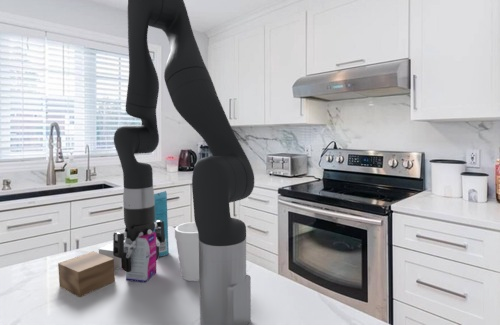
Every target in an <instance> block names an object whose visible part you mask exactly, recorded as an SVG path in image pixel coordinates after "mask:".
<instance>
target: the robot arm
mask: <svg viewBox="0 0 500 325" xmlns="http://www.w3.org/2000/svg"><path fill="white" fill-rule="evenodd" d="M126 7H127V8H126V9H127V11H126V12H127V16H126V17H127V46H128V48H127V49H128V81H127V88H126V89H127V91H126V99H125V113H126V114H127V115H128V116H130V117H132V118H135V119H138V120H139V119H140V122H141V125H121V126H119V127H117V129H116V130H115V132H114V135H113V144H114V147H115V150H116V153H117V156H118V158H119V162H120V165H121V166H120V167H121V169H122V175H123V177H122V178H123V195H122V199H123V200H122V201H123V203H122V204H123V221H124V222H123V223H124V225H125V228H124V229H125V230H124V231H121V232H118V231H115V232H113V235H112V236H113V237H112V238H113V239H112V240H113V241H112V243H113V255H114V256H116V257H119V258H121V263H122V269H121V270H123V271H124V272H125V273H126V272H130V271H131V257H130V255H131V253H132V251H133V250H135V248H136V246H137V239H138V238H141V237H142V236H143V235H146V234H148V235H150V234H152V233H153V231H154V229H155V232H156V261H158V260H159V258H160V257H159V246H160V243H162V242H165V230H164V222H163V221H160V220H155V200H154V194H155V192H154V180H153V178H154V176H153V174H154V172H153V167H152V165H151V164H149V163H148V162H147V163H146V162H139V161H138V160H137V158H136V156H135V155H137V154H138V155H139V154H140V155H141V154H151V153H153V152H155V151H156V149H157V147H158V146H159V144H160V143H159V142H160V136H159V135H160V134H159V129H158V128H159V127H158V120H157V105H158V100H159V98H158V97H159V93H160V92H159V91H160V82H159V81H160V80H159V76H158V72H157V71H156V67H155V65H154V62H153V59H152V57H151V52H150V49H149V43H148V31H149V27H150V28H151V27H152V28H156V29H159V30H162V31H163V32H164V33H165V36H166V37H167V40H168V42H169V46H170V52H169V55H168V57H167V61H166V64H165V67H164V72H163V74H164V76H163V77H164V82H165V85H166V89H167V91H168V94H169V97H170V99H171V102H172V104H173V106H174V108H175V110H176V111H177V113H178V114H179V115H180V116H181V117H182V119H183V120H184V121H185V122H186V123H188V124H189V126H190V127H191V128H193V129H194V130H195V131H196V132H197V133H198V134H199V136H200V137H201V138H202V139H203V140H204V142H205V144H206V145H207V147H208V149H209V151H210V154H211V155H212V156H206V157H202V158H201V159H199V160H198V161H197V162H196V163H195V165H194V168H193V170H192V171H193V172H192V176H191V178H192V179H191V188H192V201H193V216H194V222H195V224H196V227H197V230H198V236H199V280H198V284H199V285H198V288H199V323H200V324H199V325H248V324H249V323H250V322H251V321H252V320H251V317H252V314H251V312H252V310H251V306H252V305H251V295H252V294H251V293H252V292H251V288H252V287H251V275H249V274H247V226H246V224H245V222H243V220H241V219H238V218H233V217H232V216H231V211H230V210H231V209H230V203H233V202H238V201H240V200H244V199H247V198H248V197H249V196H251V194H252V193H253V190H254V188H255V174H254V170H253V167H252V164H251V162H250V160H249V159H248V156H247V154H246V152H245V150H244V149H243V147H242V144H241V143H240V141H239V139H238V137H237V136H236V133H235V132H234V130H233V128H232V126H231V124H230V122H229V120H228V116H227V114H226V112H225V110H224V108H223V106H222V104H221V100H220V99H219V96H218V94H217V90H216V88H215V85H214V83H213V80H212V78H211V77H212V76H211V75H210V72H209V71H208V70H209V69H208V68H207V66H206V63H205V61H204V59H203V57H202V56H203V55H201V51H200V48H199V46H198V43H197V41H196V38H195V35H194V31H193V28H192V24H191V21H190V16H189V13H188V10H187V7H186V4H185V1H184V0H127V6H126ZM154 221H155V222H154ZM125 237H127V238H128V239H129V238H130V240H131V241H132V242H133V243H132V244H131V245H129V244H127V243H126V242H125Z"/></svg>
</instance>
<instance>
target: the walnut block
mask: <svg viewBox="0 0 500 325" xmlns="http://www.w3.org/2000/svg"><path fill="white" fill-rule="evenodd" d="M57 267H58V268H57V269H58V280H59V282H58V283H59V284H58V285H59V288H61V289H63V290H65V291H67V292H68V293H71V294H73V295H75V296H76V297H79V298H81V297H84V296H85V295H88V294H90V293H92V292H95V291H97V290H99V289H101V288H104V287H106V286H108V285H111V284H113V283H115V282H116V274H115V269H114V259H113V258H111V257H108V256H105V255H102V254H99V252H97V251H91V252H88V253H85V254H82V255H78V256H76V257H73V258H70V259H66V260H64V261H61V262H57Z"/></svg>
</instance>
